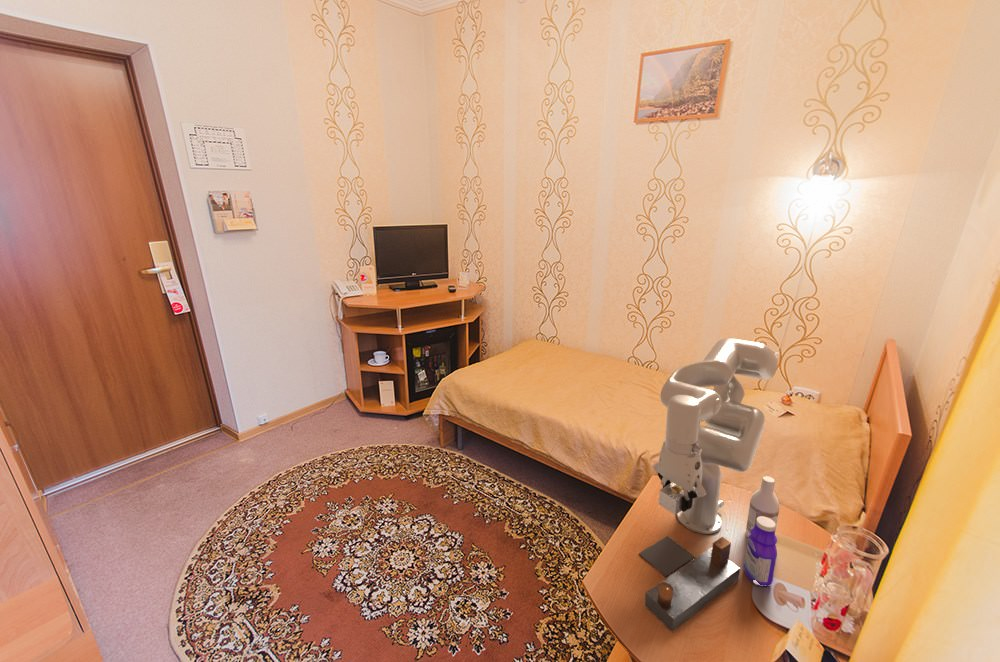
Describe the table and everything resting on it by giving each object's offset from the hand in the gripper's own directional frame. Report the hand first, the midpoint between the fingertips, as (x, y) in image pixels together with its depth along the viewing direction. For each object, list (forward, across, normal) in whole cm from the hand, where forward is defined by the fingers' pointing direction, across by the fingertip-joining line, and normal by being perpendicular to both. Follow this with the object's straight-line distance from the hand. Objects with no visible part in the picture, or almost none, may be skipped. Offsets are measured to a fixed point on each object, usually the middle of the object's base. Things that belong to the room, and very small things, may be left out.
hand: (676, 502), depth 108 cm
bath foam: (+20, -10, -27) cm, 35 cm away
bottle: (+19, -16, -13) cm, 28 cm away
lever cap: (0, 0, 0) cm, 0 cm away
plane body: (+19, -10, +5) cm, 22 cm away
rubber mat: (+19, +1, 0) cm, 19 cm away
